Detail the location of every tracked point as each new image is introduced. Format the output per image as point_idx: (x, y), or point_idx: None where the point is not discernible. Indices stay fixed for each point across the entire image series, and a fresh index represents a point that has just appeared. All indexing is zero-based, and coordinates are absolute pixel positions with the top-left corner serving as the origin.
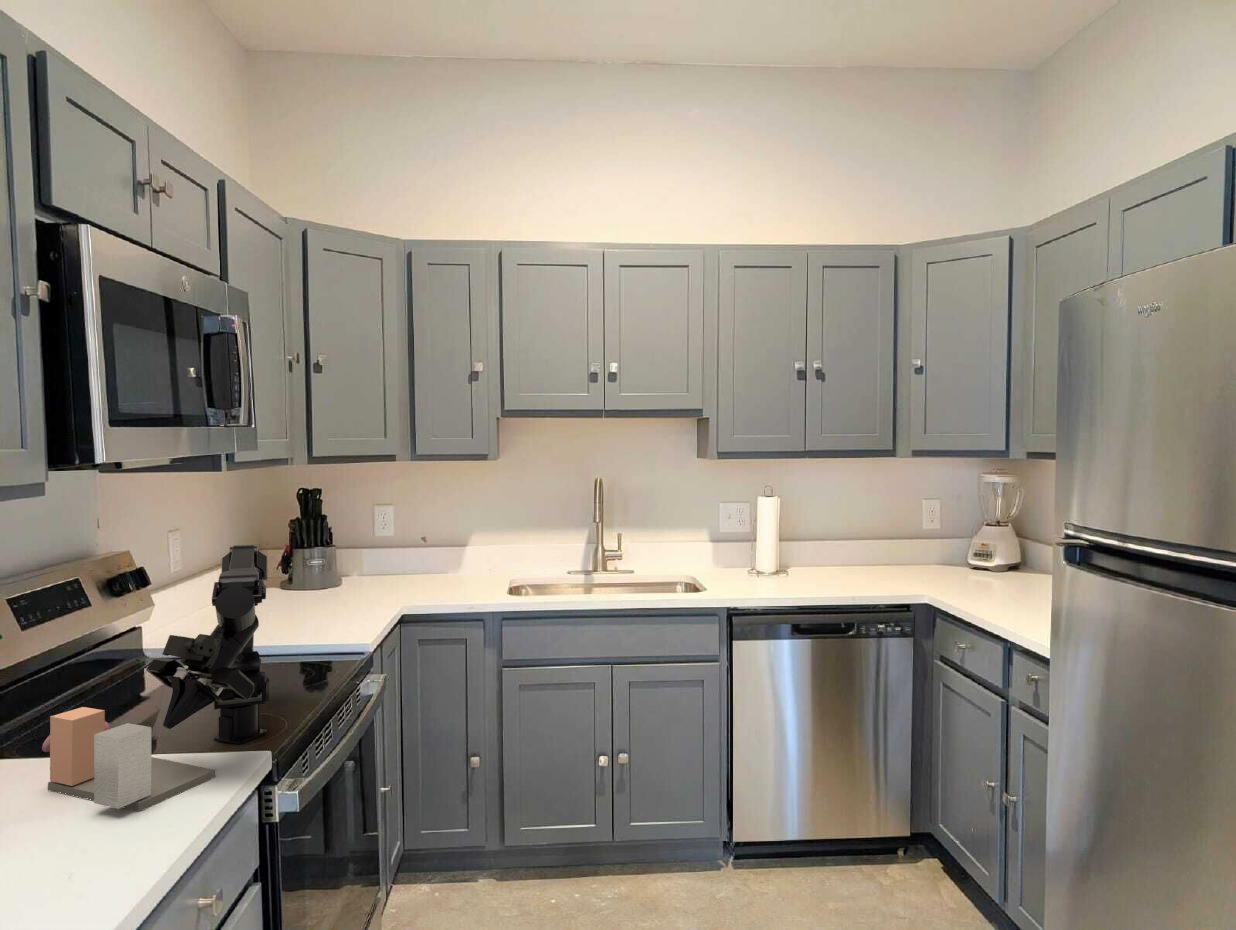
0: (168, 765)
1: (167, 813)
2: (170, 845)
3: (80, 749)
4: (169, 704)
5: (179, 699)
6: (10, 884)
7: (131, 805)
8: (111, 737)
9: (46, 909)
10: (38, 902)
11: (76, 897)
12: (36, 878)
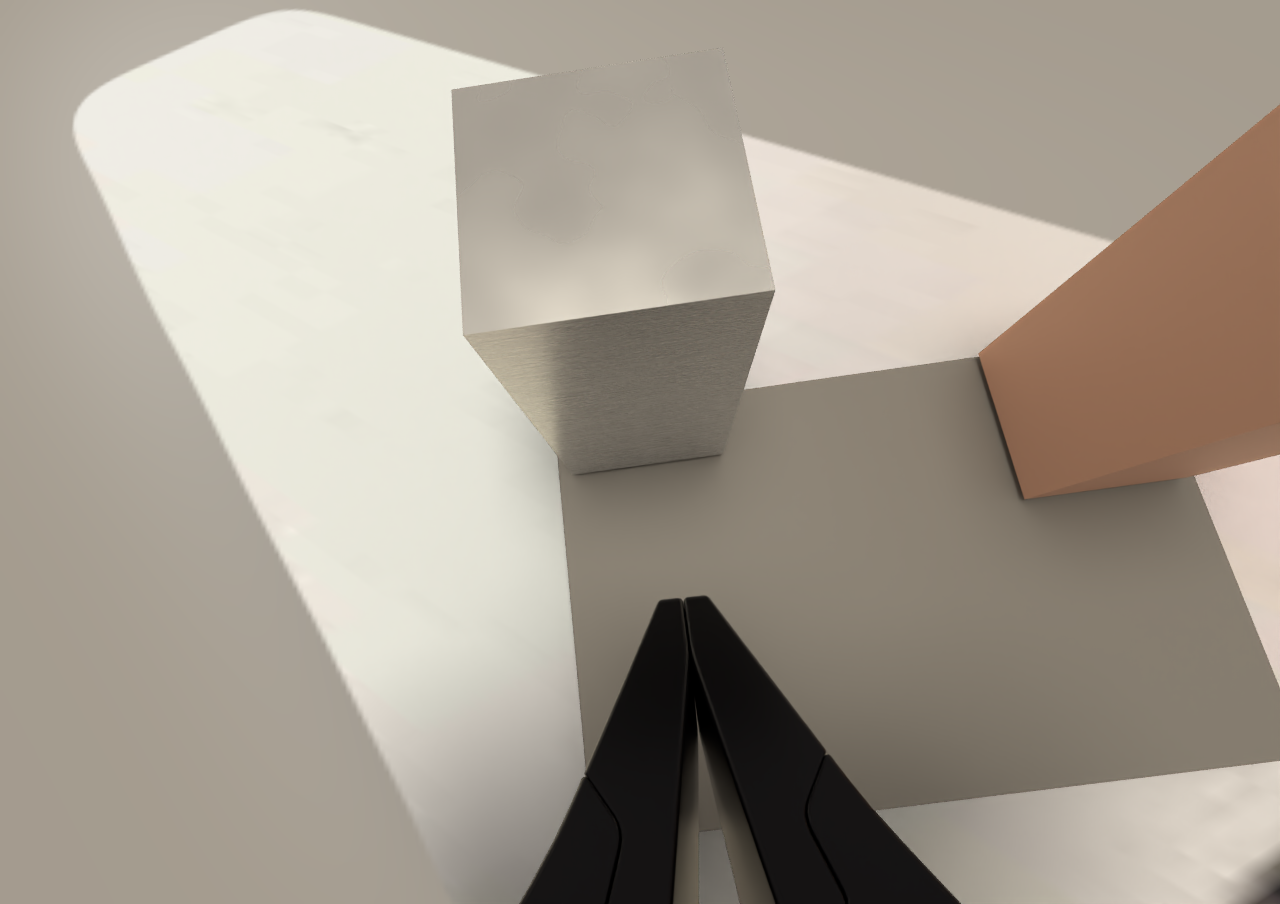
0: (880, 747)
1: (447, 472)
2: (226, 346)
3: (1104, 310)
4: (819, 745)
5: (759, 887)
6: (448, 49)
7: None
8: (531, 79)
9: (251, 50)
10: (298, 52)
11: (231, 100)
12: (417, 88)
